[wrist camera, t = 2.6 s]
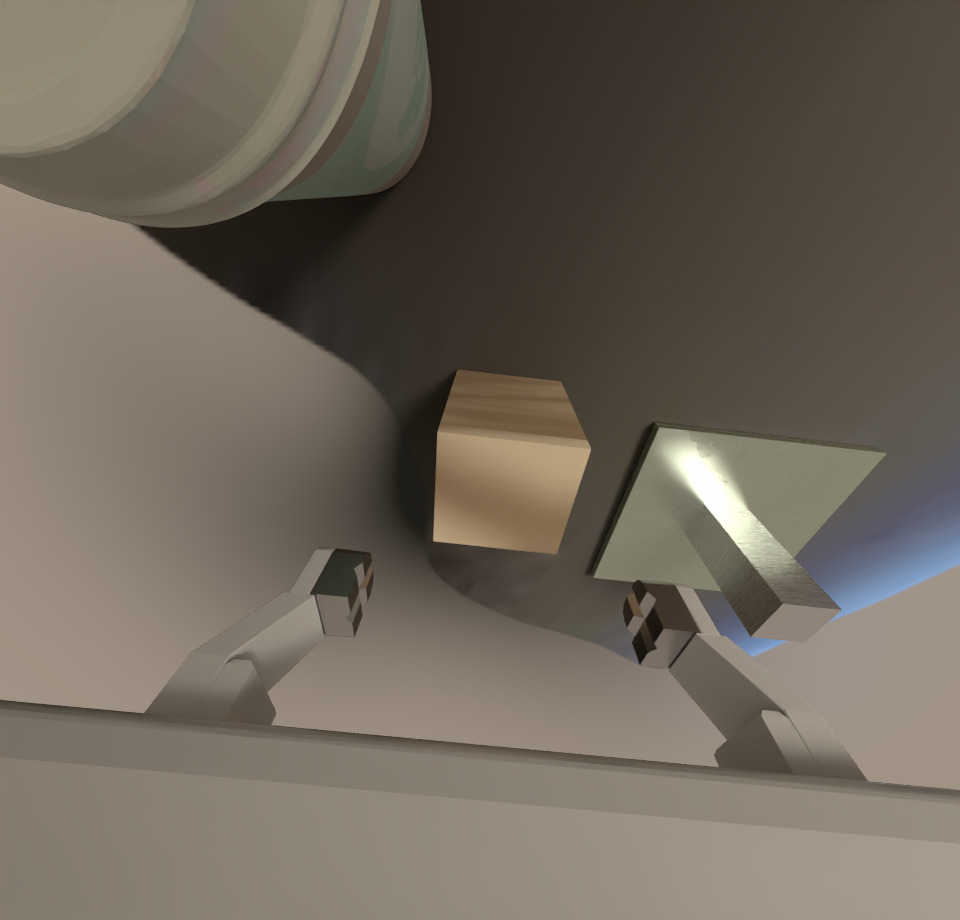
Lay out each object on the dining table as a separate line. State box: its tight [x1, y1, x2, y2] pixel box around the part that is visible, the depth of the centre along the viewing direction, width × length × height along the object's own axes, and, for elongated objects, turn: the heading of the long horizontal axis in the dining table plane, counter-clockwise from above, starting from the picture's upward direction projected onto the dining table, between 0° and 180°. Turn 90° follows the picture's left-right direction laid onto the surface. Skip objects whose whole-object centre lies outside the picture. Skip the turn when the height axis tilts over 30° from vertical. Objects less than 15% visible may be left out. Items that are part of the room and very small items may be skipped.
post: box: [591, 422, 887, 642], centre depth 18 cm, size 12×12×7 cm
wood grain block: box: [433, 370, 591, 554], centre depth 16 cm, size 5×5×7 cm
